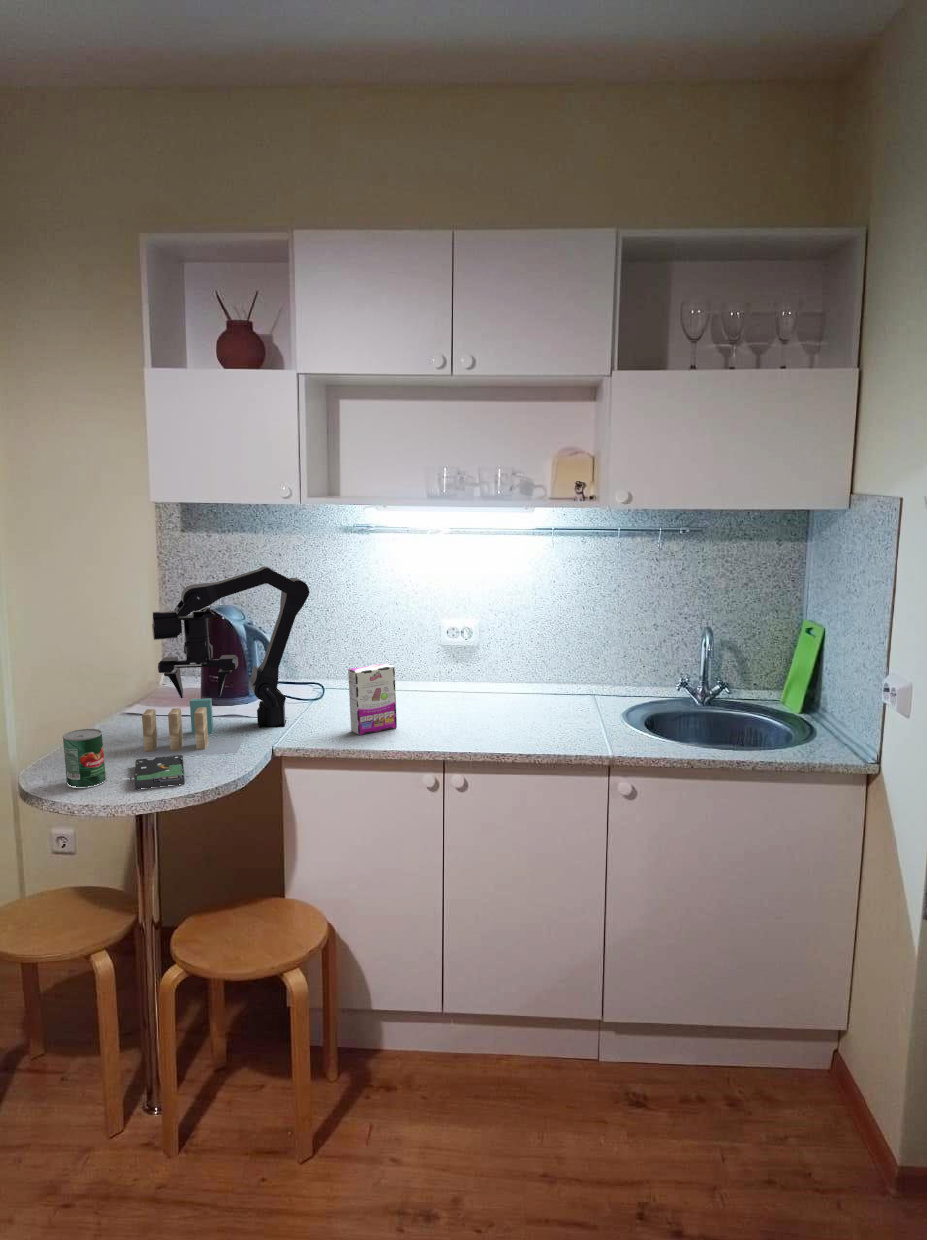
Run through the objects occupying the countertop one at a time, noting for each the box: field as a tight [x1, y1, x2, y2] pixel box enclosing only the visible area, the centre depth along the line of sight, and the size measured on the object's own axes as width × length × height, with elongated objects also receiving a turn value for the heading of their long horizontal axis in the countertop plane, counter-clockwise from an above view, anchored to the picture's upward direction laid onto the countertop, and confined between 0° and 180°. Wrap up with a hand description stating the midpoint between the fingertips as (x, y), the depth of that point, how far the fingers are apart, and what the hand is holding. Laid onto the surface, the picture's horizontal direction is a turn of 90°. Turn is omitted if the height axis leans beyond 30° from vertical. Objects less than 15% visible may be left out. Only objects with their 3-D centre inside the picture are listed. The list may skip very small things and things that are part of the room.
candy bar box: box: [347, 663, 398, 736], centre depth 237 cm, size 11×5×16 cm, turn 123°
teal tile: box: [189, 697, 214, 735], centre depth 235 cm, size 2×5×9 cm, turn 96°
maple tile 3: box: [167, 707, 184, 751], centre depth 223 cm, size 2×5×9 cm, turn 6°
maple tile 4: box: [141, 708, 159, 752], centre depth 223 cm, size 2×5×9 cm, turn 6°
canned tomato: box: [62, 728, 107, 787], centre depth 201 cm, size 8×8×11 cm
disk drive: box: [134, 755, 186, 789], centre depth 205 cm, size 10×3×15 cm
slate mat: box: [132, 737, 244, 758], centre depth 224 cm, size 24×12×1 cm, turn 96°
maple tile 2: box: [194, 707, 209, 750], centre depth 224 cm, size 2×5×9 cm, turn 6°
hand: (200, 697), depth 235 cm, fingers open, 9 cm apart
